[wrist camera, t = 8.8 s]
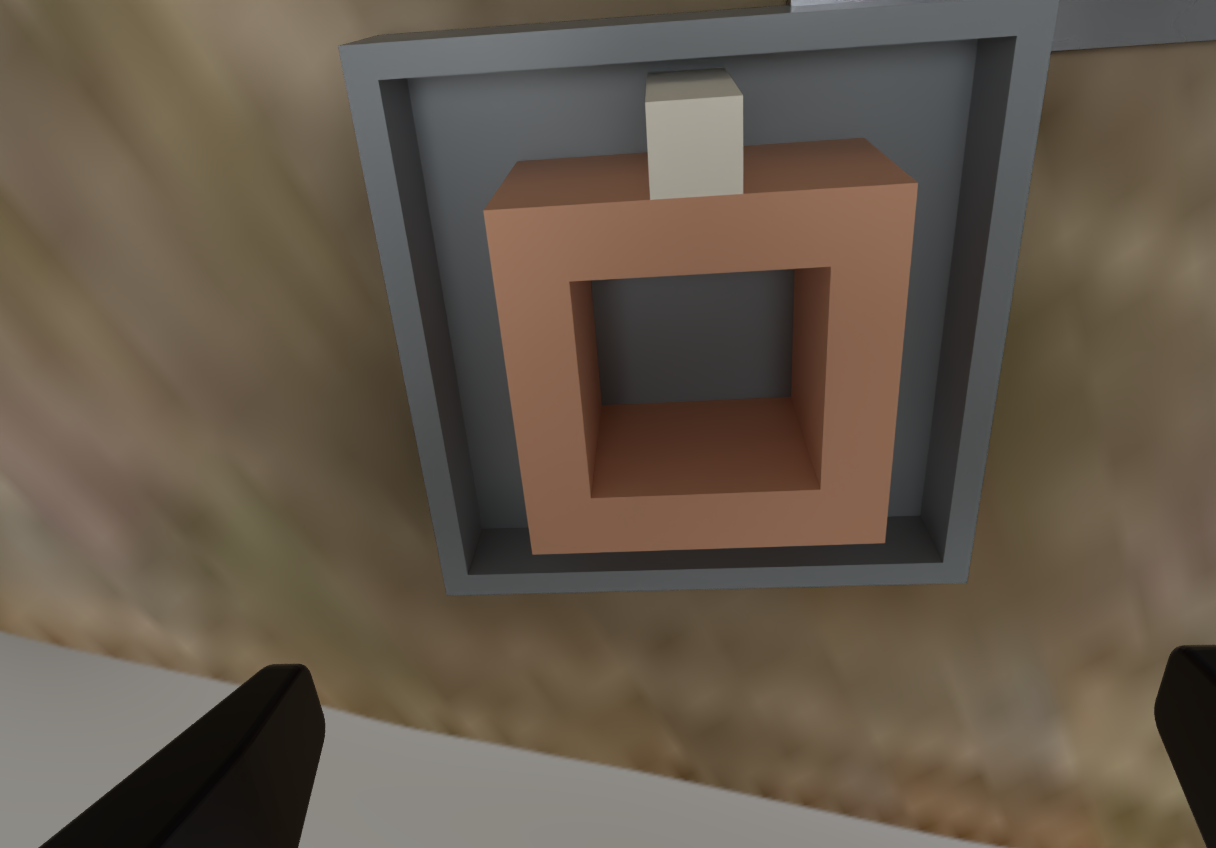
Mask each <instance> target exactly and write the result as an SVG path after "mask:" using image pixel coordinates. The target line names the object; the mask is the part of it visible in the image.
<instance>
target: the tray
mask: <svg viewBox="0 0 1216 848" xmlns="http://www.w3.org/2000/svg"><path fill="white" fill-rule="evenodd" d="M1058 4H1059V0H869V1H856V2H842V3H829V4H815V5H801V6H789V5H782V6H768V7H755V8H741V9H727V10H714V11H700V12H686V13H673V14H659V15H646V16H632V17H618V18H605V19H591V20H578V21H564V22H550V23H537V24H523V25H510V26H496V27H482V28H469V29H455V30H442V31H428V32H414V33H401V34H387V35H377V36H373V37H369V38H366V39H362V40H358V41H354V42H351V43H347V44H343V45H339V46H338V48H339V53H340V58H341V63H342V68H343V73H344V78H345V83H346V89H347V94H348V99H349V104H350V109H351V114H352V119H353V124H354V129H355V134H356V139H357V144H358V149H359V154H360V159H361V164H362V169H363V174H364V179H365V185H366V190H367V195H368V200H369V205H370V210H371V215H372V220H373V225H374V230H375V235H376V240H377V245H378V250H379V255H380V260H381V265H382V270H383V275H384V281H385V286H386V291H387V296H388V301H389V306H390V311H391V316H392V321H393V326H394V331H395V336H396V341H397V346H398V351H399V356H400V361H401V366H402V372H403V377H404V382H405V387H406V392H407V397H408V402H409V407H410V412H411V417H412V422H413V427H414V432H415V437H416V442H417V447H418V452H419V457H420V462H421V468H422V473H423V478H424V483H425V488H426V493H427V498H428V503H429V508H430V513H431V518H432V523H433V528H434V533H435V538H436V543H437V548H438V553H439V558H440V564H441V569H442V574H443V579H444V584H445V589H446V594H447V596H454V595H495V594H537V593H578V592H619V591H660V590H701V589H743V588H784V587H825V586H866V585H907V584H949V583H967V580H968V573H969V567H970V561H971V554H972V548H973V542H974V535H975V529H976V523H977V516H978V510H979V504H980V497H981V491H982V485H983V478H984V472H985V466H986V459H987V453H988V447H989V440H990V434H991V428H992V422H993V415H994V409H995V403H996V396H997V390H998V384H999V377H1000V371H1001V365H1002V358H1003V352H1004V346H1005V339H1006V333H1007V327H1008V320H1009V314H1010V308H1011V301H1012V295H1013V289H1014V282H1015V276H1016V270H1017V263H1018V257H1019V251H1020V244H1021V238H1022V232H1023V225H1024V219H1025V213H1026V206H1027V200H1028V194H1029V187H1030V181H1031V175H1032V168H1033V162H1034V156H1035V149H1036V143H1037V137H1038V130H1039V124H1040V118H1041V111H1042V105H1043V99H1044V92H1045V86H1046V80H1047V73H1048V67H1049V61H1050V54H1051V48H1052V42H1053V35H1054V29H1055V23H1056V16H1057V10H1058ZM721 67H725V69H726V70H727V72H728V73H729V75H730V76H731V78H732V79H733V81H734V82H735V84H736V85H737V87H738V88H739V90H740V91H741V93H742V94H743V146H748V145H762V144H777V143H792V142H807V141H821V140H836V139H851V138H865V139H866V140H868V141H869V142H870V143H871V144H872V145H874V146H875V147H876V148H877V149H878V150H880V151H881V152H882V153H883V154H884V155H885V156H887V157H888V158H889V159H890V160H891V161H893V162H894V163H895V164H896V165H897V166H899V167H900V168H901V169H902V170H903V171H905V172H906V173H907V174H908V175H909V176H911V177H912V178H913V179H914V180H915V181H917V182H918V189H917V200H916V211H915V222H914V232H913V243H912V254H911V265H910V276H909V287H908V298H907V309H906V320H905V330H904V341H903V352H902V363H901V374H900V385H899V396H898V407H897V417H896V428H895V439H894V450H893V461H892V472H891V483H890V494H889V505H888V515H887V526H886V537H885V543H874V544H844V545H813V546H782V547H752V548H721V549H690V550H660V551H629V552H598V553H568V554H537V555H532V548H531V541H530V534H529V527H528V520H527V513H526V506H525V499H524V492H523V485H522V478H521V471H520V464H519V457H518V450H517V443H516V436H515V429H514V422H513V415H512V408H511V401H510V394H509V387H508V380H507V373H506V366H505V359H504V352H503V345H502V338H501V331H500V324H499V317H498V310H497V303H496V296H495V289H494V282H493V275H492V268H491V261H490V254H489V247H488V240H487V233H486V226H485V219H484V212H483V210H484V209H485V207H486V206H487V204H488V203H489V202H490V200H491V199H492V197H493V196H494V194H495V193H496V191H497V190H498V188H499V187H500V186H501V184H502V183H503V181H504V180H505V178H506V177H507V175H508V174H509V172H510V171H511V169H512V168H513V167H514V165H515V164H516V162H517V161H527V160H542V159H557V158H571V157H586V156H601V155H615V154H630V153H645V152H648V149H647V130H646V110H645V96H646V81H647V73H654V72H667V71H681V70H694V69H707V68H721ZM794 273H795V269H782V270H764V271H747V272H729V273H712V274H694V275H677V276H659V277H641V278H624V279H606V280H591V288H592V299H593V310H594V322H595V333H596V345H597V356H598V368H599V379H600V390H601V402H602V405H620V404H642V403H664V402H686V401H708V400H729V399H751V398H773V397H791V384H792V347H793V310H794Z"/></svg>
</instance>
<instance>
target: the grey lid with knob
mask: <svg viewBox="0 0 1216 848" xmlns="http://www.w3.org/2000/svg"><path fill="white" fill-rule="evenodd" d="M856 1H869V0H787V5H789V6H801V5H815V4H829V3H842V2H856ZM1207 40H1216V0H1059V4H1058V10H1057V16H1056V23H1055V29H1054V35H1053V42H1052V48H1051V51H1060V50H1075V49H1090V48H1104V47H1119V46H1134V45H1148V44H1163V43H1178V42H1192V41H1207Z"/></svg>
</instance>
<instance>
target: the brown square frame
mask: <svg viewBox="0 0 1216 848" xmlns="http://www.w3.org/2000/svg"><path fill="white" fill-rule="evenodd" d="M645 110H646V130H647V149H648V152H645V153H630V154H615V155H601V156H586V157H571V158H557V159H542V160H527V161H517V162H516V164H515V165H514V167H513V168H512V169H511V171H510V172H509V174H508V175H507V177H506V178H505V180H504V181H503V183H502V184H501V186H500V187H499V188H498V190H497V191H496V193H495V194H494V196H493V197H492V199H491V200H490V202H489V203H488V204H487V206H486V207H485V209H484V210H483V212H484V219H485V226H486V233H487V240H488V247H489V254H490V261H491V268H492V275H493V282H494V289H495V296H496V303H497V310H498V317H499V324H500V331H501V338H502V345H503V352H504V359H505V366H506V373H507V380H508V387H509V394H510V401H511V408H512V415H513V422H514V429H515V436H516V443H517V450H518V457H519V464H520V471H521V478H522V485H523V492H524V499H525V506H526V513H527V520H528V527H529V534H530V541H531V548H532V555H537V554H568V553H598V552H629V551H660V550H690V549H721V548H752V547H782V546H813V545H844V544H874V543H885V537H886V526H887V515H888V505H889V494H890V483H891V472H892V461H893V450H894V439H895V428H896V417H897V407H898V396H899V385H900V374H901V363H902V352H903V341H904V330H905V320H906V309H907V298H908V287H909V276H910V265H911V254H912V243H913V232H914V222H915V211H916V200H917V189H918V182H917V181H915V180H914V179H913V178H912V177H911V176H909V175H908V174H907V173H906V172H905V171H903V170H902V169H901V168H900V167H899V166H897V165H896V164H895V163H894V162H893V161H891V160H890V159H889V158H888V157H887V156H885V155H884V154H883V153H882V152H881V151H880V150H878V149H877V148H876V147H875V146H874V145H872V144H871V143H870V142H869V141H868V140H866V139H865V138H851V139H836V140H821V141H807V142H792V143H777V144H762V145H748V146H743V94H742V93H741V91H740V90H739V88H738V87H737V85H736V84H735V82H734V81H733V79H732V78H731V76H730V75H729V73H728V72H727V70H726V69H725V67H721V68H707V69H694V70H681V71H667V72H654V73H647V81H646V96H645ZM782 269H795V273H794V310H793V347H792V384H791V397H773V398H751V399H729V400H708V401H686V402H664V403H642V404H620V405H602V402H601V390H600V379H599V368H598V356H597V345H596V333H595V322H594V310H593V299H592V288H591V280H606V279H624V278H641V277H659V276H677V275H694V274H712V273H729V272H747V271H764V270H782Z"/></svg>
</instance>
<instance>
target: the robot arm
mask: <svg viewBox="0 0 1216 848" xmlns="http://www.w3.org/2000/svg"><path fill="white" fill-rule="evenodd" d="M1154 715H1155V721H1156V726H1157V729H1158V731H1159V734H1160V736H1161V739H1162V741H1163V744H1164V746H1165V748H1166V751H1167V753H1168V756H1169V758H1170V760H1171V763H1172V765H1173V768H1174V770H1175V772H1176V775H1177V777H1178V780H1179V782H1180V785H1181V787H1182V789H1183V792H1184V794H1185V797H1186V799H1187V801H1188V804H1189V806H1190V809H1191V811H1192V813H1193V816H1194V818H1195V821H1196V823H1197V825H1198V828H1199V830H1200V833H1201V835H1202V838H1203V840H1204V842H1205V845H1206V847H1207V848H1216V645H1183V646H1179V647H1176V648H1175V649H1174V650H1173V651H1172V652H1171V654H1170V656H1169V659H1168V662H1167V665H1166V668H1165V672H1164V675H1163V678H1162V681H1161V685H1160V688H1159V691H1158V694H1157V698H1156V701H1155V707H1154ZM324 738H325V719H324V714H323V711H322V708H321V705H320V701H319V698H318V695H317V692H316V688H315V685H314V682H313V679H312V676H311V673H310V671H309V669H308V668H307V667H306V666H305V665H302V664H273V665H268V666H266V667H264V668H263V669H261V670H260V671H259V672H257V673H256V674H255V675H254V676H252V677H251V678H250V679H249V680H247V681H246V682H245V683H244V684H242V685H241V686H240V687H239V688H237V689H236V690H235V691H234V692H232V693H231V694H230V695H229V696H228V697H226V698H225V699H224V700H223V701H221V702H220V703H219V704H218V705H216V706H215V707H214V708H212V709H211V710H210V711H209V712H208V713H206V714H205V715H204V716H203V717H201V718H200V719H199V720H197V721H196V722H195V723H194V724H192V725H191V726H190V727H189V728H188V729H186V730H185V731H184V732H182V733H181V734H180V735H179V736H177V737H176V738H175V739H174V740H173V741H171V742H170V743H169V744H167V745H166V746H165V747H164V748H163V749H161V750H160V751H159V752H157V753H156V754H155V755H154V756H152V757H151V758H150V759H149V760H147V761H146V762H145V763H144V764H143V765H141V766H140V767H139V768H138V769H136V770H135V771H134V772H133V773H132V774H130V775H129V776H128V777H127V778H125V779H124V780H123V781H122V782H120V783H119V784H118V785H116V786H115V787H114V788H113V789H111V790H110V791H109V792H108V793H106V794H105V795H104V796H103V797H101V798H100V799H99V800H98V801H96V802H95V803H94V804H93V805H91V806H90V807H89V808H88V809H86V810H85V811H84V812H83V813H81V814H80V815H79V816H78V817H77V818H75V819H74V820H73V821H72V822H70V823H69V824H68V825H66V826H65V827H64V828H63V829H61V830H60V831H59V832H58V833H56V834H55V835H54V836H53V837H51V838H50V839H49V840H48V841H47V842H45V843H44V844H43V845H41V846H40V847H39V848H298V846H299V842H300V838H301V834H302V829H303V825H304V821H305V817H306V813H307V809H308V805H309V800H310V796H311V792H312V788H313V784H314V780H315V776H316V771H317V768H318V763H319V759H320V755H321V751H322V747H323V743H324Z"/></svg>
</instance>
